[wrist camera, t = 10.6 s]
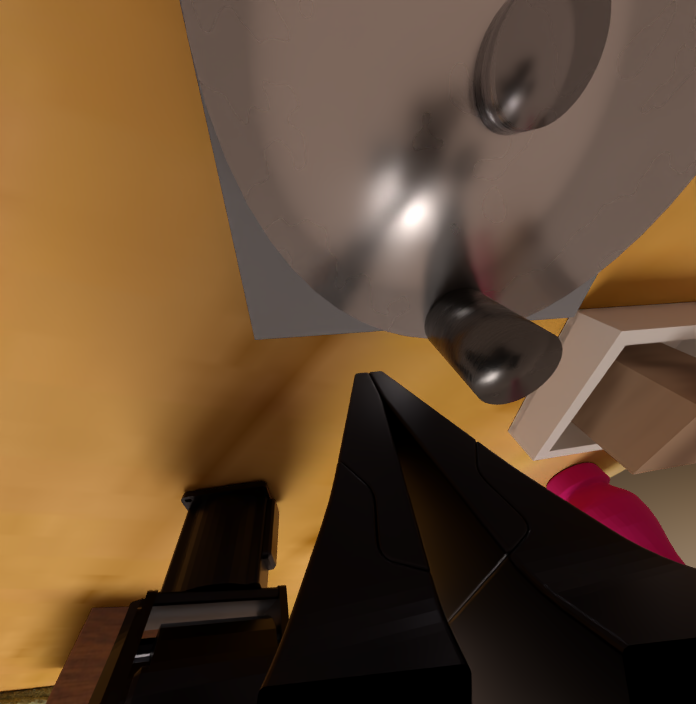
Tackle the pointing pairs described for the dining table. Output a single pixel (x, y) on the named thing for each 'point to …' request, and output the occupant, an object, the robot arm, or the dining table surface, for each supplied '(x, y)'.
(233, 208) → the crank board
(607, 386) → the block
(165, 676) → the robot arm
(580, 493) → the pepper mill
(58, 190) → the dining table surface
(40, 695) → the washcloth
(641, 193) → the crank
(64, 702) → the tissue box cover
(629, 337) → the tray
